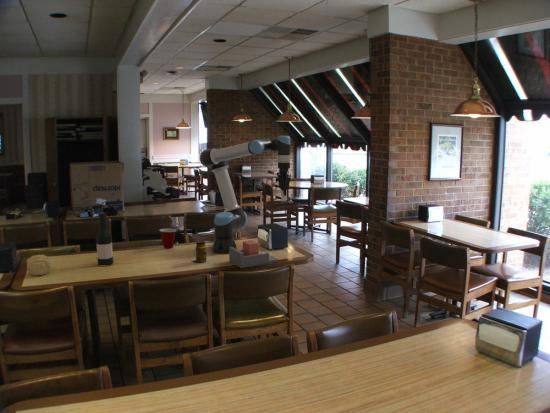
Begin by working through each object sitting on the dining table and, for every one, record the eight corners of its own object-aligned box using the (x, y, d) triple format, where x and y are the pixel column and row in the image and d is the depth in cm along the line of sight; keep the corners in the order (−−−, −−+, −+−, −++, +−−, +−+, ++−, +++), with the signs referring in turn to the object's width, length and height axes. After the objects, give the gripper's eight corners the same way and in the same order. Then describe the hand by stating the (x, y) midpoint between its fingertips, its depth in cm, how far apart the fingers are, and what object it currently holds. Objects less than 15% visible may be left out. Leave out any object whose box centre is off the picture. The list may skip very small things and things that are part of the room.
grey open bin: (229, 261, 280) (228, 247, 279) (265, 255, 292) (265, 241, 290) (241, 268, 267) (240, 253, 265) (278, 261, 279) (278, 247, 277)
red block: (242, 258, 280) (242, 241, 278) (252, 256, 283) (252, 239, 282) (249, 261, 273) (249, 244, 271) (259, 259, 277) (259, 243, 275)
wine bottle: (116, 262, 277) (113, 211, 272) (107, 267, 270) (103, 214, 264) (104, 261, 280) (100, 210, 274) (94, 265, 272) (91, 213, 267)
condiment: (209, 262, 279) (208, 242, 276) (195, 264, 274) (195, 244, 272) (203, 259, 285) (203, 239, 282) (190, 261, 280) (189, 241, 278)
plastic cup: (181, 246, 310) (180, 228, 308) (168, 250, 301) (168, 232, 299) (168, 244, 316) (168, 226, 313) (156, 248, 307) (155, 230, 305)
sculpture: (27, 279, 250) (25, 259, 248) (28, 272, 261) (26, 252, 259) (51, 276, 255) (49, 256, 253) (51, 269, 266) (50, 250, 263)
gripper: (295, 162, 284) (294, 201, 289) (283, 160, 295) (283, 198, 300) (284, 163, 280) (284, 203, 285) (273, 161, 291) (273, 199, 296)
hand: (283, 200), depth 292 cm, fingers closed
